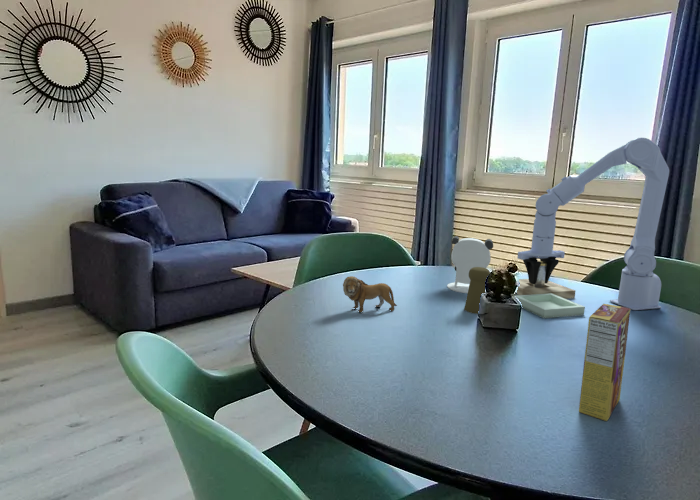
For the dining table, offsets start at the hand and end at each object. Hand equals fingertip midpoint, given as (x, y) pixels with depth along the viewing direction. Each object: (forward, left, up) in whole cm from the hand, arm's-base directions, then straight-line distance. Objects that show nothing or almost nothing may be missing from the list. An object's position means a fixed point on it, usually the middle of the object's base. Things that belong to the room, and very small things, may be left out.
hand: (538, 282), depth 135 cm
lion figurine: (+54, +6, -3) cm, 54 cm away
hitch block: (0, 0, -3) cm, 3 cm away
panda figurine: (+18, -8, -3) cm, 20 cm away
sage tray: (+8, +14, -3) cm, 16 cm away
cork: (+27, +11, -3) cm, 29 cm away
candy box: (+34, +57, -3) cm, 66 cm away
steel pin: (0, 0, -3) cm, 3 cm away
